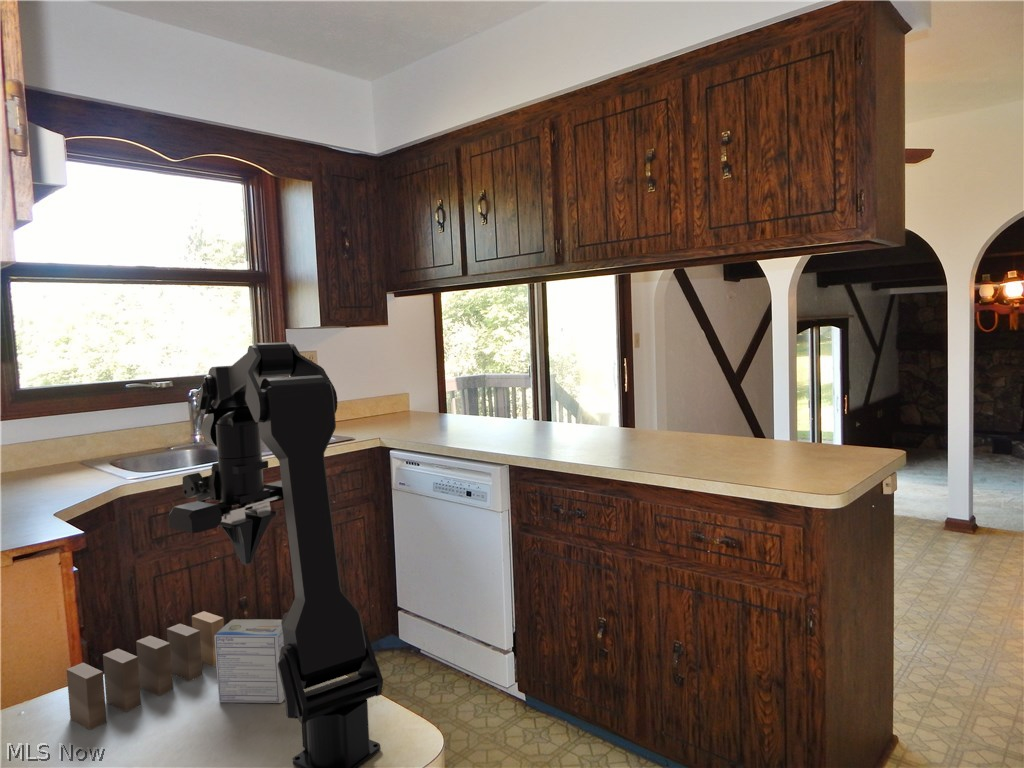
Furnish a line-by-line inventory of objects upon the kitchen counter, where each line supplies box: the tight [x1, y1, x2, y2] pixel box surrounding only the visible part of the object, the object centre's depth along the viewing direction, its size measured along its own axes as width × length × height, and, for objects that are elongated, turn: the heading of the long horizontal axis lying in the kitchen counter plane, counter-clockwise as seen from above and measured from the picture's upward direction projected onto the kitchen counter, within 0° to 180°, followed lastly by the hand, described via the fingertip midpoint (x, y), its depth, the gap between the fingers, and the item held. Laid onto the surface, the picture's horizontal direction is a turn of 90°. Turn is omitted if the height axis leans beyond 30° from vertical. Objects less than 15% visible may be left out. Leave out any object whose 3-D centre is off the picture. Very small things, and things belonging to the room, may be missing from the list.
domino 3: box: [135, 635, 174, 697], centre depth 84 cm, size 2×4×6 cm, turn 58°
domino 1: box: [66, 662, 107, 731], centre depth 77 cm, size 2×4×6 cm, turn 58°
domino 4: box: [166, 623, 204, 682], centre depth 87 cm, size 2×4×6 cm, turn 58°
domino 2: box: [102, 648, 142, 713], centre depth 80 cm, size 2×4×6 cm, turn 58°
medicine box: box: [214, 618, 285, 704], centre depth 81 cm, size 8×4×9 cm, turn 85°
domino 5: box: [191, 610, 225, 667], centre depth 91 cm, size 2×4×6 cm, turn 58°
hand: (246, 563), depth 95 cm, fingers closed
